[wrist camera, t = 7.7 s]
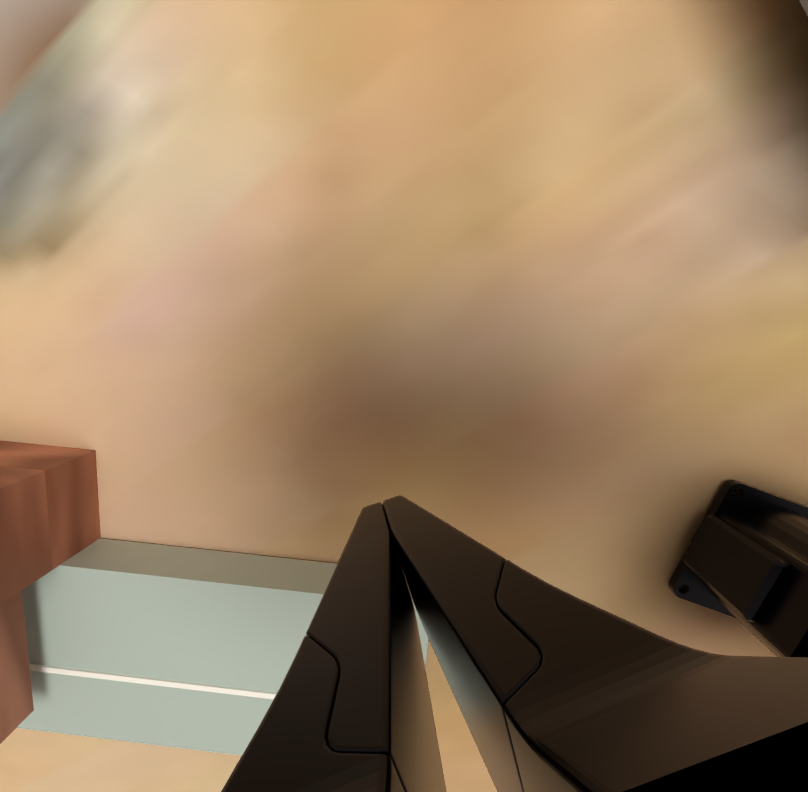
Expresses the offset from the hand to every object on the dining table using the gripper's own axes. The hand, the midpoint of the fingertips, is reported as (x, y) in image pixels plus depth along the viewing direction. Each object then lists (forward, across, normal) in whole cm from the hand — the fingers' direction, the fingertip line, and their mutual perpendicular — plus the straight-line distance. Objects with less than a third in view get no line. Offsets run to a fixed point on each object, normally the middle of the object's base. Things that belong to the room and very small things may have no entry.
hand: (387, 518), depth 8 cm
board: (+12, +11, +12) cm, 20 cm away
